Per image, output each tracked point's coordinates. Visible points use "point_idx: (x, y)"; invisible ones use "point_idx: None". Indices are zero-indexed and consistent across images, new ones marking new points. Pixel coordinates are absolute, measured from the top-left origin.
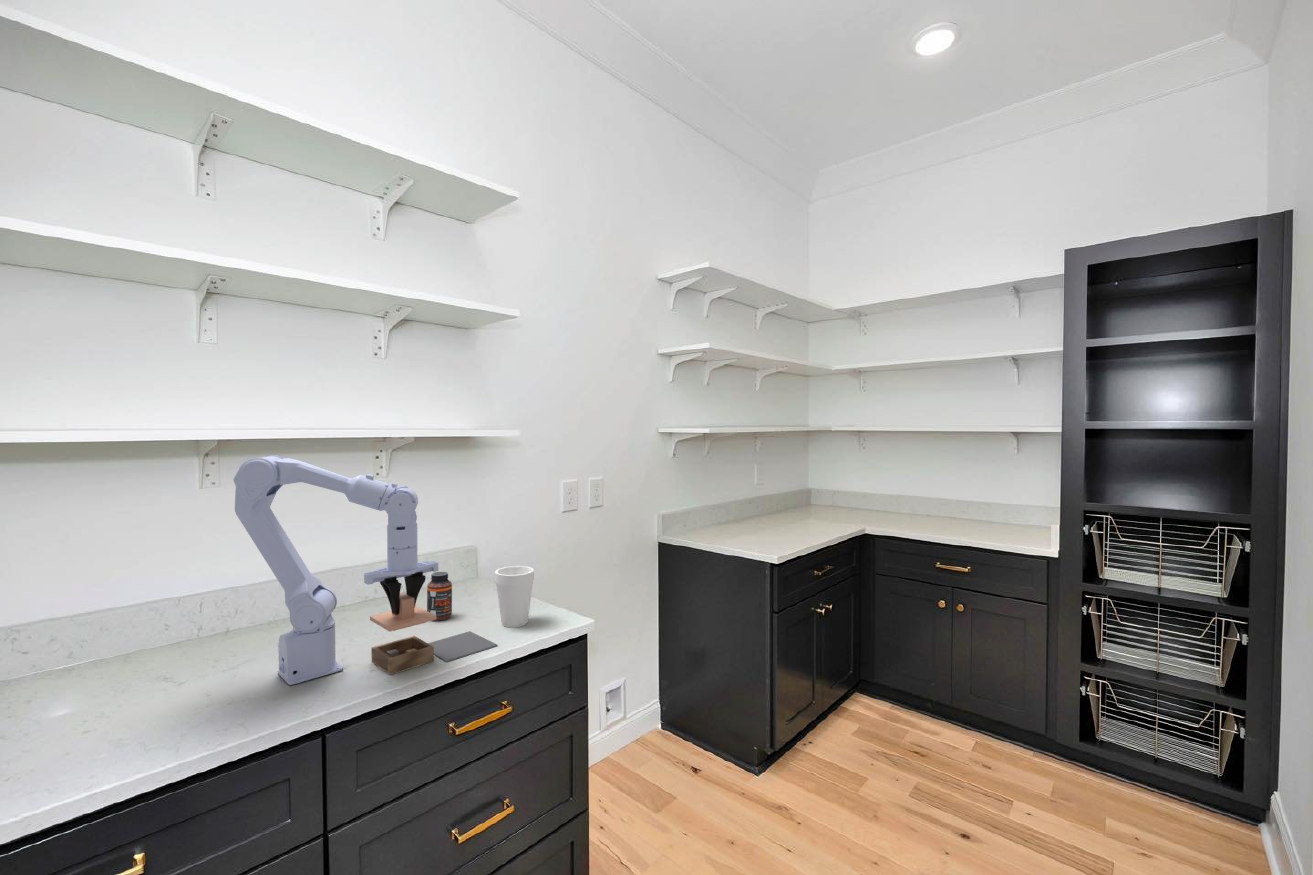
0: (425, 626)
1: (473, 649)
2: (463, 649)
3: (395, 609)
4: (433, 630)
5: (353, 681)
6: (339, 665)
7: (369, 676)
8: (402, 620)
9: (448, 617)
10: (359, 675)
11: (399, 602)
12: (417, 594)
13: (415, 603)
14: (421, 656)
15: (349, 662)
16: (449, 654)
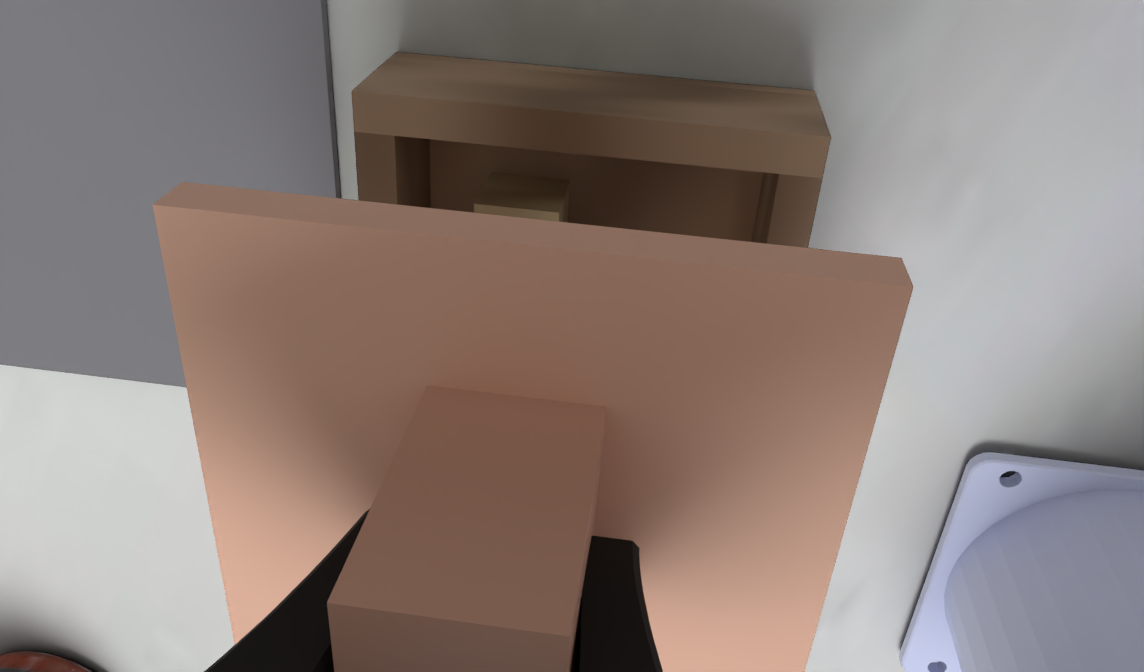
0: (187, 652)
1: None
2: (90, 48)
3: (643, 600)
4: (165, 567)
5: (1070, 214)
6: (964, 514)
7: (931, 201)
8: (610, 395)
9: (9, 653)
10: (962, 283)
11: (579, 661)
12: (225, 667)
13: (318, 565)
14: (500, 83)
15: (849, 534)
16: (234, 47)
